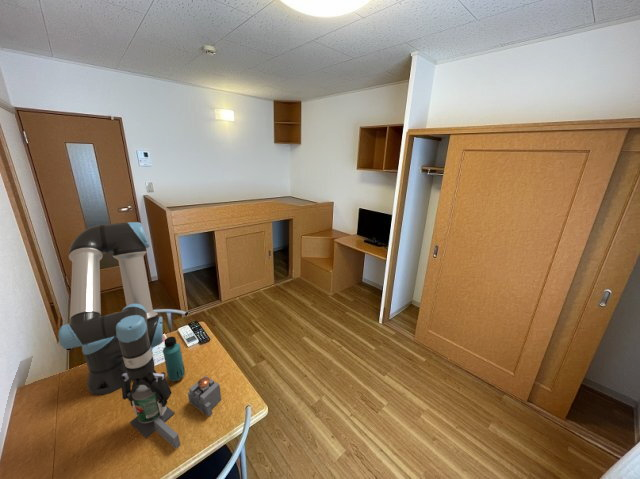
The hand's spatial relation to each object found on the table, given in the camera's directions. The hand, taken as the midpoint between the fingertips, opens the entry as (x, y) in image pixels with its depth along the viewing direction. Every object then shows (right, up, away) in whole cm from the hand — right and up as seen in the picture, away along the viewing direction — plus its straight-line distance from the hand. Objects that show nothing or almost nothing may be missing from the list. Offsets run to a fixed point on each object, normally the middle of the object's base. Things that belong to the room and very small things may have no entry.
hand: (151, 411), depth 91 cm
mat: (0, -3, +1) cm, 3 cm away
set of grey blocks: (+13, -3, +3) cm, 14 cm away
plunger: (+16, +2, +7) cm, 18 cm away
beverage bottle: (-1, +2, +18) cm, 18 cm away
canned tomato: (0, 0, 0) cm, 0 cm away
